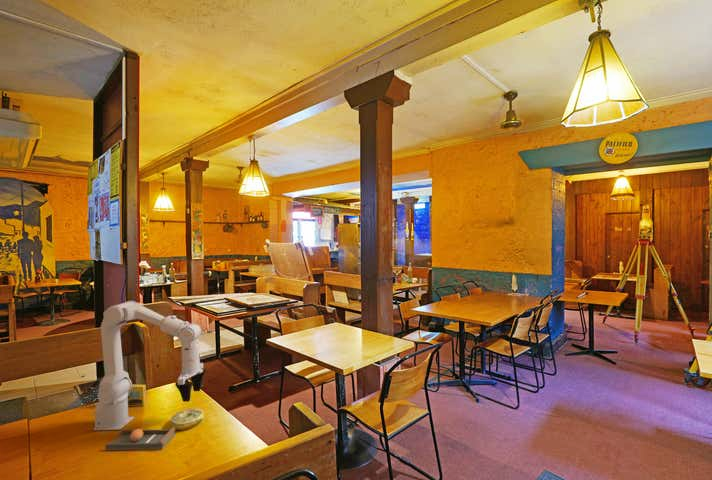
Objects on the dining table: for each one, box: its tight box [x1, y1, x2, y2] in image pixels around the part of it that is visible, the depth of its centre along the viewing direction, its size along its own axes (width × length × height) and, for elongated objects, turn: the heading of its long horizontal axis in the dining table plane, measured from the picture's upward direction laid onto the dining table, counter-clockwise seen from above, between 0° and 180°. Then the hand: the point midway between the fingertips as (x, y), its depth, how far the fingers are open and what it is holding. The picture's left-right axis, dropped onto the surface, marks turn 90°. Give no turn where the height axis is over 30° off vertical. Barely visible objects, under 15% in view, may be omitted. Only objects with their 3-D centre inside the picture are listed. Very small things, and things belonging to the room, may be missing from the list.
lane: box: [104, 426, 176, 451], centre depth 114 cm, size 18×8×3 cm, turn 90°
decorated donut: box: [169, 407, 205, 431], centre depth 125 cm, size 10×11×4 cm
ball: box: [130, 428, 143, 441], centre depth 114 cm, size 4×4×4 cm
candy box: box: [128, 384, 148, 407], centre depth 139 cm, size 16×2×8 cm, turn 87°
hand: (191, 395), depth 124 cm, fingers open, 7 cm apart
